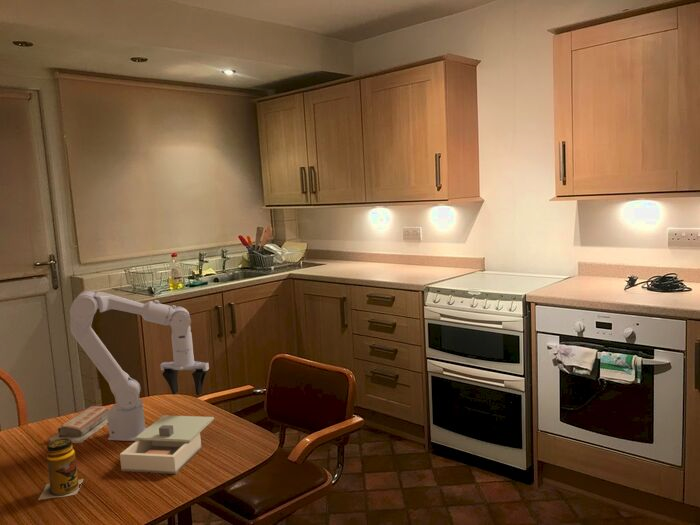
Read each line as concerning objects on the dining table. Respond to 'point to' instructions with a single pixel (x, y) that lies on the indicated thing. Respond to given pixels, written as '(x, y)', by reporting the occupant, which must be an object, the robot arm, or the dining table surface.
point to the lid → (175, 428)
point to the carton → (159, 455)
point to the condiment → (61, 470)
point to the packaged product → (83, 424)
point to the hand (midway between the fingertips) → (187, 393)
